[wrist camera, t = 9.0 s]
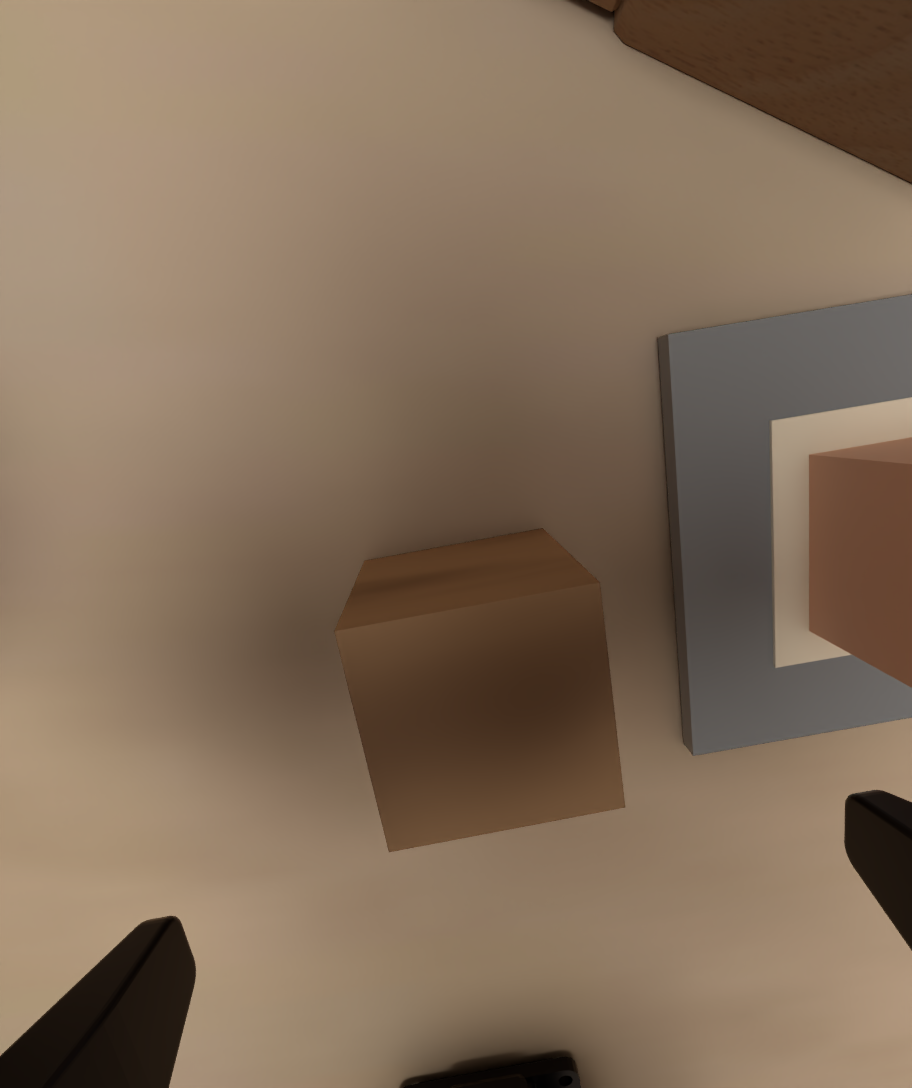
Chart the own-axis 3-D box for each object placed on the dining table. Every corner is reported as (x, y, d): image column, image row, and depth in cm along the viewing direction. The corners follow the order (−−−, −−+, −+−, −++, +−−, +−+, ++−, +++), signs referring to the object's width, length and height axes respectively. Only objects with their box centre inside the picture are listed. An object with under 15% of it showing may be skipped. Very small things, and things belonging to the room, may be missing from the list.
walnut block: (564, 687, 16) (625, 807, 11) (400, 718, 16) (388, 852, 11) (542, 527, 15) (599, 582, 10) (364, 560, 15) (334, 631, 10)
